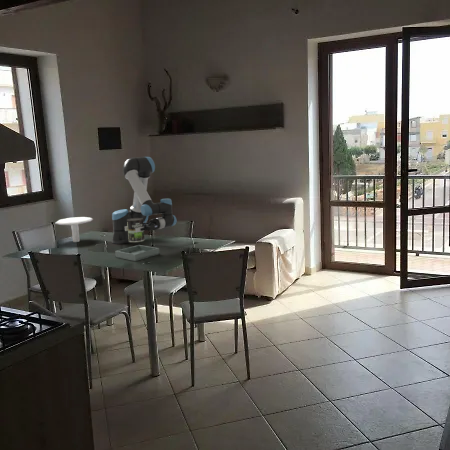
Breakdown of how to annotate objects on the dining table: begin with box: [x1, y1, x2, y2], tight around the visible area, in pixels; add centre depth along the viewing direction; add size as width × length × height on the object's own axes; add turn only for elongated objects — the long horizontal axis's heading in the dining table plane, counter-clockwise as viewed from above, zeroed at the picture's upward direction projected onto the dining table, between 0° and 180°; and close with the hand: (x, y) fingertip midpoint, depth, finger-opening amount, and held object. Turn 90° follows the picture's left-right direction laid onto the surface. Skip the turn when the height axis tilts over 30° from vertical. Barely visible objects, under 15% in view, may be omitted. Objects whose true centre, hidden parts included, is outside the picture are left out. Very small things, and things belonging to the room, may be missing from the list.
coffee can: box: [127, 218, 145, 243], centre depth 311 cm, size 10×10×14 cm
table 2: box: [54, 216, 94, 243], centre depth 367 cm, size 28×28×17 cm
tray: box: [114, 244, 160, 262], centre depth 313 cm, size 20×20×4 cm
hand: (130, 229), depth 307 cm, fingers closed on coffee can, 10 cm apart
